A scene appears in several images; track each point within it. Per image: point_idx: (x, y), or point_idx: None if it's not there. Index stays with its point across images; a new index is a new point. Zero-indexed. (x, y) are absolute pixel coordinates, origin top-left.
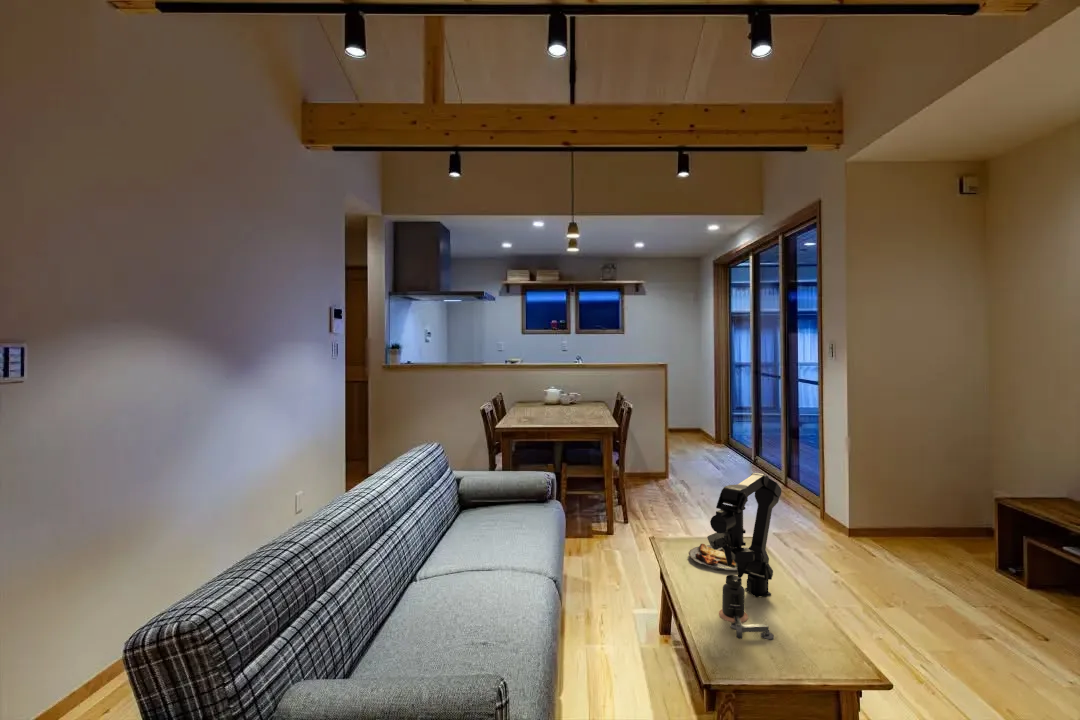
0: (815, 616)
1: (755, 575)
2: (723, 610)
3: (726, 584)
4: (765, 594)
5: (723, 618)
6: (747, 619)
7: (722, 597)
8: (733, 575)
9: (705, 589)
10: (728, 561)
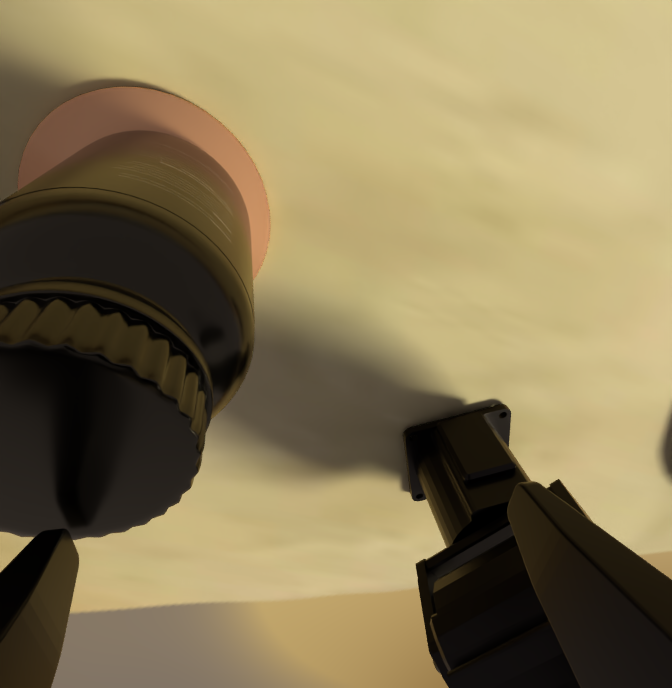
0: (188, 587)
1: (487, 535)
2: (124, 134)
3: (97, 278)
4: (411, 478)
5: (68, 101)
6: None
7: (144, 162)
8: (169, 471)
9: (611, 156)
10: (555, 545)
